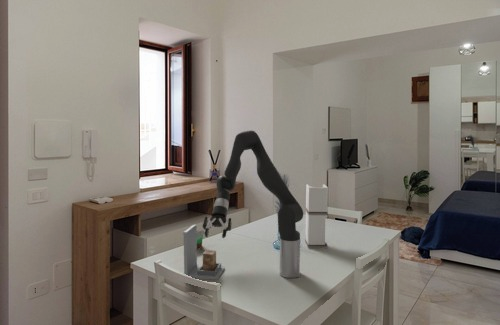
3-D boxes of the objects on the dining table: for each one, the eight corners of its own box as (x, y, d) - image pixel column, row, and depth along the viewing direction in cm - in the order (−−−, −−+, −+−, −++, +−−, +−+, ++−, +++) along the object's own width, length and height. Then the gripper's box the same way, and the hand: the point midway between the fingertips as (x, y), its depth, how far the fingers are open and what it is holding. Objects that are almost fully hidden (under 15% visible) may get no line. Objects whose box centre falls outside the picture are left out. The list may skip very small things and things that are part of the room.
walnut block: (216, 269, 168) (216, 250, 167) (212, 274, 162) (212, 255, 161) (206, 268, 168) (205, 250, 168) (202, 273, 163) (202, 254, 162)
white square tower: (326, 248, 201) (328, 187, 197) (308, 248, 201) (309, 187, 198) (323, 242, 212) (324, 184, 209) (305, 241, 212) (306, 184, 209)
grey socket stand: (224, 268, 171) (224, 226, 169) (217, 280, 158) (216, 233, 156) (194, 266, 174) (193, 224, 172) (184, 277, 161) (183, 232, 159)
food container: (183, 251, 196) (183, 233, 195) (182, 247, 202) (182, 230, 201) (205, 249, 199) (205, 231, 198) (204, 245, 205) (204, 228, 204)
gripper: (205, 204, 182) (199, 232, 171) (232, 205, 179) (227, 234, 169) (209, 212, 187) (202, 239, 177) (235, 213, 185) (230, 241, 175)
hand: (214, 236), depth 173 cm, fingers open, 8 cm apart
